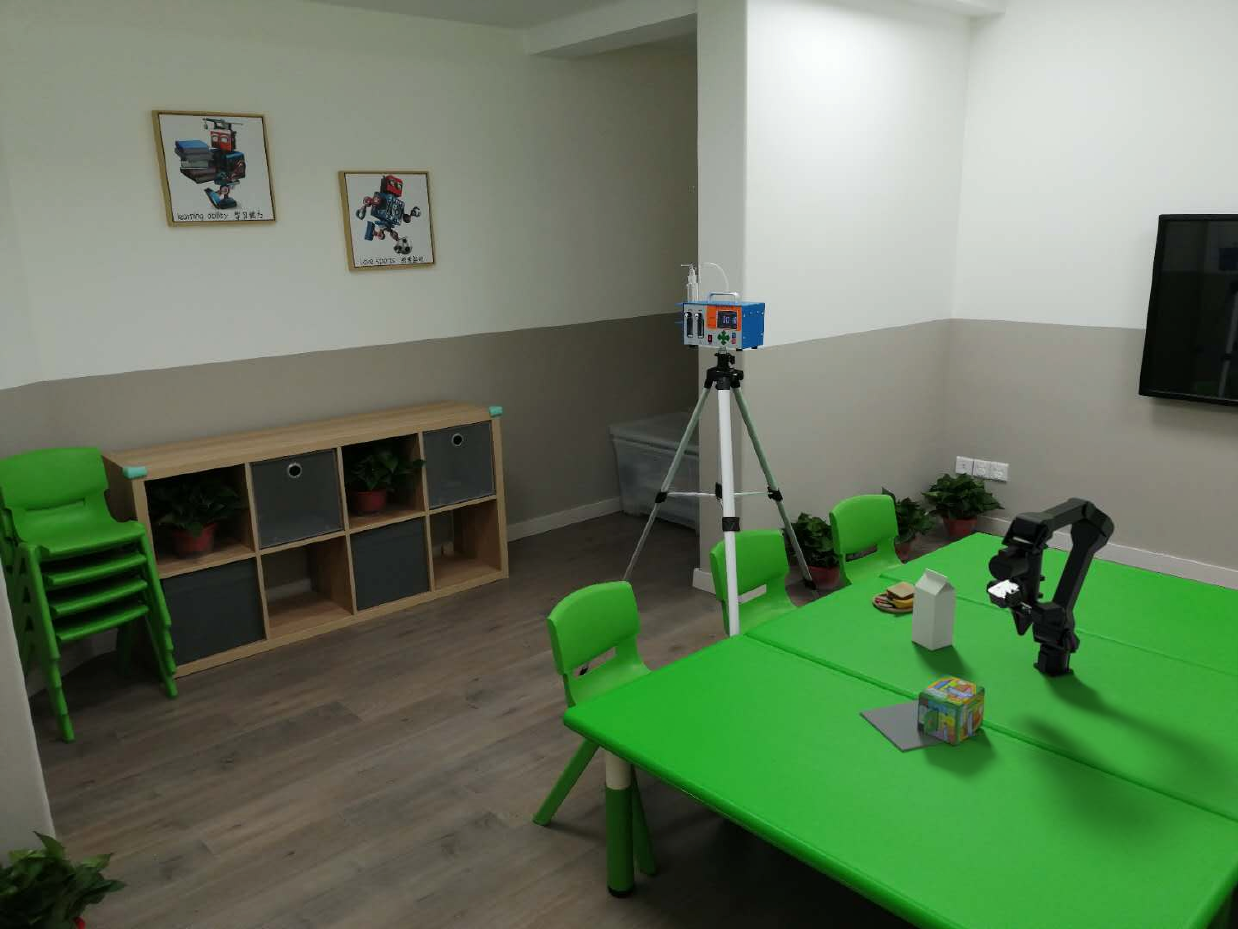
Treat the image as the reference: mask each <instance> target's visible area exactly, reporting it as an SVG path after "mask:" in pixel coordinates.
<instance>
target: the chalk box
mask: <svg viewBox="0 0 1238 929" xmlns="http://www.w3.org/2000/svg"><path fill="white" fill-rule="evenodd" d="M985 688H986V687H984V686H981V685H979V684H976V683H972V682H971V681H966V680H963V679H962V678H957V677H955V676H952V675H950V674H945V675H943V676H942V677H940V678H939V679H938V680H936V681H935V682H933V683H932V684H930V685H929V686H927V687H926V688H923V690H921V691H920V692H919V693H918V699H917V700H918V720H917V730H918V731H921V732H923V733H926V734H928V735H931V736H933V737H936V738H938V739H941V740H943V741H946V742H945V743H949V744H951V745H953V746H958V745H959V744H960V743H961V742H963V741H964V740H965V739H966V737H967V738H969V737H968V736H969V735H970V734H972V733H973V732H976V731H977V730H979V729H980V728H981V727H982V726H983V725H984V713H985V712H984V711H985V708H984V707H985V695H986V694H985V693H986V689H985Z"/></svg>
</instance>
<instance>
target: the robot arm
mask: <svg viewBox="0 0 1238 929" xmlns="http://www.w3.org/2000/svg"><path fill="white" fill-rule="evenodd" d="M1068 525H1070V526H1071V527H1070V530H1069V534H1070V539H1071V543H1072V545H1071V546H1072V547H1071V549H1070V552H1069V554H1068V557H1067V560H1066V562H1065V565H1064V568H1063V570H1062V573H1061V575H1060V578H1059V580H1058V583H1057V586H1056V588H1055V590H1054V594H1053V596H1052V599H1051V601H1046V602H1045V601H1044V602H1043V601H1042V600H1040V599H1043V598H1044V593H1042V592H1040V588H1041V582H1045V581H1046V580H1045V579H1046V575H1045V576H1044V575H1043V574H1042V570H1043V569H1042V566H1043V556H1044V551H1045V550H1048V549H1049V545H1048V544H1047V542H1049V541H1050V540H1051V539H1053V538H1054V537H1053V536H1054V532H1056V531H1058V530H1060V529H1063V528H1065V527H1067V526H1068ZM1114 532H1115V523H1114V522H1113V521H1112V518H1111V517H1110V516H1109V515H1108V514H1107V513H1105V512H1103V511H1102V510H1100V509H1099V508H1098V507H1097V506H1096V505H1095V503H1093V502H1091V501H1090V500H1087V499H1082V498H1079V497H1070V498H1068V499H1067V501H1065V502H1063V503H1060V504H1057V505H1055V506H1053V507H1051V508H1048V509H1045V510H1043V511H1039V512H1038V511H1037V512H1036V511H1027V512H1026V511H1025V512H1021V513H1018V514H1017V515H1016V516H1015V517H1013V520H1012V521H1011V523H1010V524H1009V526H1008V529H1007V531H1006V533H1005V535H1004V537H1003V538H1002V540H1001V545H1002V546H1005V547H1004V548H1003V547H1002V548H999V549H998V550H997V554H995V555H993V556H992V557H991V558H990V560H989V561H988V571H989V573H990V575H991V576H992V577H993V578H994V579H993V580H990V581H989V582H988V583H987V584H986V589H985V592H986V593H987V594H988V596H989V600H990V604H993V605H995V606H998V607H999V608H1000V609H1002V610H1003V609H1008V610H1010V613H1011V615H1012V618H1013V621H1014V625H1015V630H1016V633H1017V635H1018V636H1021V637H1022V636H1025V634H1026V633H1027V631H1028V630H1029V629H1030V628H1031V632H1032V636H1033V642H1034V643H1038V644H1039V650H1038V653H1037V662H1033V664H1032V666H1033V667H1035V668H1036V669H1038V670H1039V671H1041V672H1043V673H1044V674H1046V675H1048V676H1050V677H1059V676H1063V675H1064V676H1065V675H1068V674H1070V675H1071V674H1073V673H1074V672H1075V670H1074V669H1072V668H1071V667H1070V661H1071V654H1076V653H1077V651H1078V650H1079V647H1080V644H1081V639H1080V638H1079V636H1077V635H1076V633H1075V628H1076V620H1075V616H1074V612H1073V611H1074V608H1075V606H1076V604H1077V600H1078V598H1079V595H1080V593H1081V590H1082V587H1083V585H1084V583H1085V579H1086V576H1087V575H1088V573H1089V572H1088V571H1089V569H1090V567H1091V564H1092V561H1093V559H1094V555H1095V554H1096V553H1097V552H1099V551H1101V549H1103V548H1104V547H1105V546H1106V545H1107V544H1108V542H1109V540H1110V539H1111V537H1112V535H1113V534H1114ZM1014 538H1015V539H1014ZM1017 539H1018V540H1017Z"/></svg>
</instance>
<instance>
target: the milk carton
mask: <svg viewBox="0 0 1238 929" xmlns="http://www.w3.org/2000/svg"><path fill="white" fill-rule="evenodd" d="M948 578H949V577H948V576H945V575H943V574H941V573H939V572H936V571H934V570H931V569H929V568H925V572H924V573H923V574H922V576H921V577H920V578H919V580H918V581H917V582H916V584H915V588H914V604H913V611H912V622H911V623H912V624H911V639H910V640H911V641H912V642H914V643H916V644H918V645H920V646H921V647H924V648H925V649H927V650H929V651H932V652H933V651H935V650H938V649H941V648H945V647H948V646H951V645H953V643H954V642H953V641H954V640H953V639H954V630H955V628H954V627H955V616H956V613H955V612H956V602H957V599H956V598H957V589H956V588H955V587H954V586H953V585H952V584H951V583H950V582H949V581H948Z"/></svg>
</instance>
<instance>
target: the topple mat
mask: <svg viewBox="0 0 1238 929" xmlns="http://www.w3.org/2000/svg"><path fill="white" fill-rule="evenodd" d="M918 700H919V699H916V700H912V701H906V702H902V703H896V704H892V705H887V706H882V707H876V708H872V709H867V710H863V711H859V715H861V716H862V717H863V718H864V719H865V720H866V721H868V722H869V723H870V724H871V725H872V726H873V727H875V729H877V731H878V732H880V733H881V734H882V736H884V737H885V738H886V739H888V740H889V741H890V742H891V743H892V744H893V745H894V746H895V747H896V748H897V749H898V750H900V751H901V752H906V751H911V750H915V749H920V748H925V747H930V746H934V745H939V744H942V743H947V742H946V741H943V740H941V739H938V738H936V737H933V736H931V735H928V734H926V733H923V732H921V731H918V730H917V720H918ZM977 736H978V733H977V732H976V731H974V732H973V733H972V734H970V735H969V736H968V737H966V738H970V737H977ZM966 738H965V739H966Z"/></svg>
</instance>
